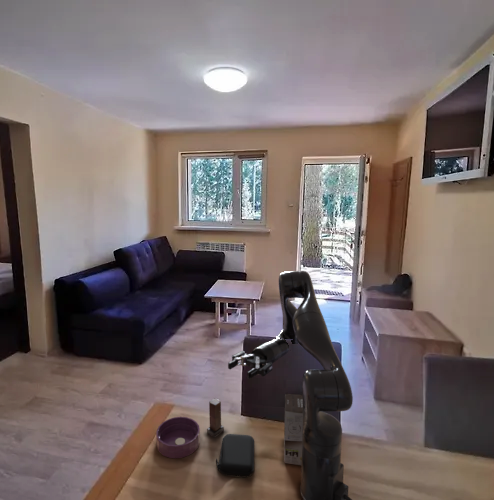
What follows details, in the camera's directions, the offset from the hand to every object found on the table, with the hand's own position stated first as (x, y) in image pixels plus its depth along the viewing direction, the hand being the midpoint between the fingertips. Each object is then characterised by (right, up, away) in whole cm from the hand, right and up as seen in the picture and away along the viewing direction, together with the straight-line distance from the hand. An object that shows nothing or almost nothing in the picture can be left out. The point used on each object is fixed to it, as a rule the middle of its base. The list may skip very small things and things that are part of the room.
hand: (238, 370), depth 112 cm
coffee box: (+16, -19, -14) cm, 29 cm away
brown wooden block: (-7, -18, -5) cm, 20 cm away
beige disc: (-18, -18, -10) cm, 28 cm away
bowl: (-19, -19, -10) cm, 28 cm away
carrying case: (-2, -20, -16) cm, 25 cm away
